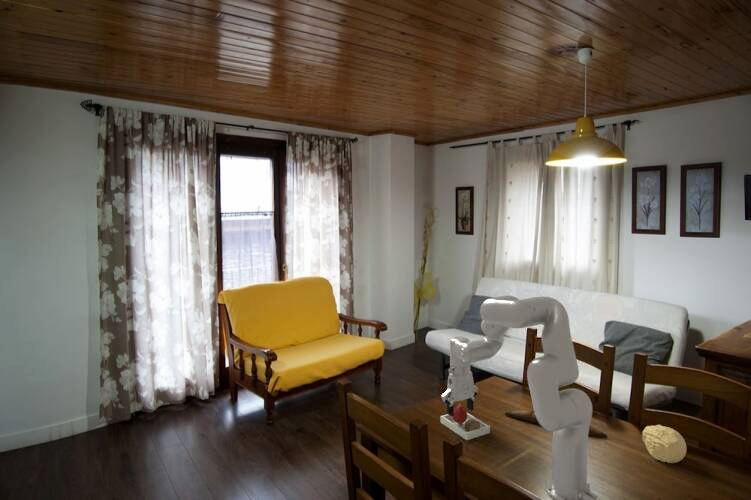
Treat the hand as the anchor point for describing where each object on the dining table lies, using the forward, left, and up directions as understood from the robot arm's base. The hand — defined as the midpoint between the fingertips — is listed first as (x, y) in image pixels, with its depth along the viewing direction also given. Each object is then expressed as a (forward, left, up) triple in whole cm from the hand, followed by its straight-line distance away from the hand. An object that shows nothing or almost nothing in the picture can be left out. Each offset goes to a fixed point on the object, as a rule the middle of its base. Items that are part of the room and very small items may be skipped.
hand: (460, 412), depth 177 cm
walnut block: (-7, 0, -5) cm, 9 cm away
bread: (-18, -31, -6) cm, 37 cm away
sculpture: (-52, -45, -6) cm, 69 cm away
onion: (0, 0, -5) cm, 5 cm away
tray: (-3, 0, -6) cm, 6 cm away
